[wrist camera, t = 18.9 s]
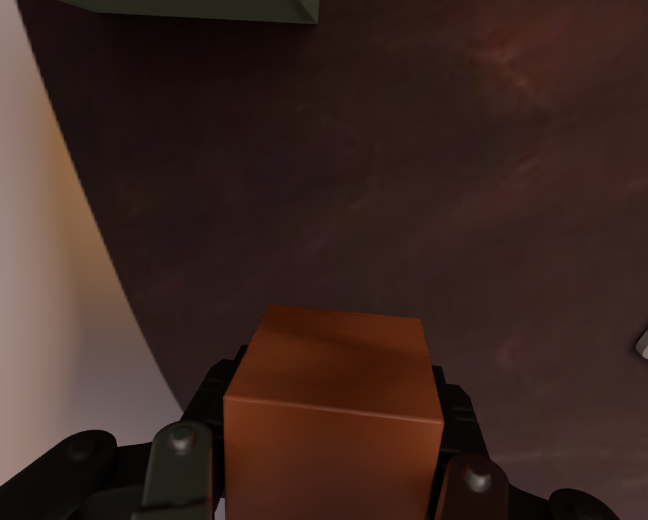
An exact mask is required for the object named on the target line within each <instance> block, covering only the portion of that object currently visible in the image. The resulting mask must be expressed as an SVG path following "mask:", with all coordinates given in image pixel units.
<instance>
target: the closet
mask: <svg viewBox="0 0 648 520" xmlns="http://www.w3.org/2000/svg"><path fill="white" fill-rule="evenodd" d="M58 1H61V2H65V3H68V4H71V5H74V6H77V7H80V8H84V9H87V10H90V11H93V12H98V13H117V14H135V15H154V16H172V17H191V18H210V19H228V20H247V21H265V22H284V23H302V24H318V16H319V0H58Z"/></svg>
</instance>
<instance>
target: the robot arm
mask: <svg viewBox="0 0 648 520" xmlns="http://www.w3.org/2000/svg"><path fill="white" fill-rule="evenodd" d="M248 346H249V345H242V346H241V347H240V349H239V351H238V353H237V355H236V357H235V359H234V360H226V359H222V360H221V361H220V362H218V363H217V364H215V365H214V366H213V367H211V368H210V370H209V371H208V373H207V375H206V376H205V378H204V381H203V382H202V383H201V385H200V387H199V390H197V392H196V393H195V395H194V397H193V399H192V400H191V402H190V404H189V405H188V407H187V409H186V410H185V412H184V414H183V415H182V417H181V419H180V421H177V422H174V423H171V424H169V425H167V426H165V427H164V428H162V429H161V430H160V431H159V432H158V433H157V434H156V435H155V437H154V439H153V441H152V442H148V443H143V444H137V445H129V446H121V447H117V443H116V439H115V437H114V436H113V435H112V434H111V433H109V432H107V431H103V430H87V431H82V432H79V433H76V434H74V435H71V436H69V437H68V438H66V439H64V440H62V441H61V442H60V443H58V444H57V445H56V446H54V447H53V448H52V449H50V450H49V451H48V452H46V453H45V454H44V455H42V456H41V457H39V458H38V459H37V460H35V461H34V462H33V463H32V464H30V465H29V466H27V467H26V468H25V469H23V470H22V471H21V472H19V473H18V474H17V475H15V476H14V477H12V478H11V479H10V480H8V481H7V482H6V483H4V484H3V485H2V486H0V520H215V511H216V509H217V506H218V503H219V501H220V498H225V478H224V417H223V397H224V395H225V393H226V391H227V389H228V387H229V385H230V383H231V381H232V378H233V376H234V374H235V372H236V370H237V368H238V366H239V364H240V362H241V360H242V358H243V356H244V354H245V352H246V350H247V348H248ZM431 366H432V370H433V375H434V379H435V383H436V388H437V392H438V397H439V401H440V405H441V410H442V414H443V418H444V428H443V434H442V439H441V444H440V449H439V455H438V460H437V465H436V471H435V476H434V481H433V486H432V492H431V497H430V502H429V508H428V513H427V518H426V520H620V519H619V518H618V517H617V516H616V515H615V513H614V512H613V511H612V510H611V509H610V508H609V507H608V506H606V505H605V504H604V503H603V502H601V501H600V500H598V499H597V498H595V497H593V496H592V495H590V494H587V493H585V492H582V491H579V490H575V489H569V488H565V489H558V490H556V491H554V492H553V493H552V494H551V496H550V498H549V501H548V500H546V499H543V498H540V497H538V496H535V495H532V494H530V493H527V492H524V491H522V490H520V489H518V488H516V487H514V486H513V485H511V484H510V483H509V480H508V477H507V476H506V474H505V472H504V471H503V470H502V469H501V468H500V467H499V466H498V465H497V464H496V463H495V462H493V461H491V460H490V457H489V454H488V451H487V448H486V445H485V442H484V439H483V436H482V433H481V430H480V427H479V424H478V423H477V418H476V415H475V412H474V409H473V406H472V403H471V400H470V397H469V396H468V395H467V394H466V393H465V392H464V390H463V389H462V388H461V387H460V386H459V385H453V384H446V381H445V378H444V374H443V370H442V367H441V366H434V365H431Z"/></svg>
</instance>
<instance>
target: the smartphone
mask: <svg viewBox="0 0 648 520" xmlns="http://www.w3.org/2000/svg"><path fill="white" fill-rule="evenodd" d="M636 350H637V351H638V352H639V353H640V354H641V355H642V356H643V357H644V358H646V359H648V330H647V331H646V332H645V333H644V335H643V336H642V337H641V338H640V340H639V341H638V343H637V345H636Z"/></svg>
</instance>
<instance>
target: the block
mask: <svg viewBox="0 0 648 520" xmlns="http://www.w3.org/2000/svg"><path fill="white" fill-rule="evenodd" d="M223 417H224V478H225V520H426V518H427V513H428V508H429V502H430V497H431V492H432V486H433V481H434V476H435V471H436V465H437V460H438V455H439V449H440V444H441V439H442V434H443V428H444V418H443V414H442V410H441V405H440V401H439V397H438V392H437V388H436V383H435V379H434V375H433V370H432V366H431V362H430V357H429V353H428V349H427V344H426V340H425V335H424V331H423V327H422V322H421V320H420V319H416V318H406V317H396V316H386V315H376V314H366V313H356V312H346V311H336V310H326V309H316V308H306V307H296V306H286V305H276V304H269V305H268V307H267V309H266V311H265V314H264V316H263V318H262V320H261V322H260V324H259V326H258V328H257V330H256V332H255V334H254V336H253V338H252V340H251V342H250V344H249V346H248V348H247V350H246V352H245V354H244V356H243V358H242V360H241V362H240V364H239V366H238V368H237V370H236V372H235V374H234V376H233V378H232V381H231V383H230V385H229V387H228V389H227V391H226V393H225V395H224V397H223Z"/></svg>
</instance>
